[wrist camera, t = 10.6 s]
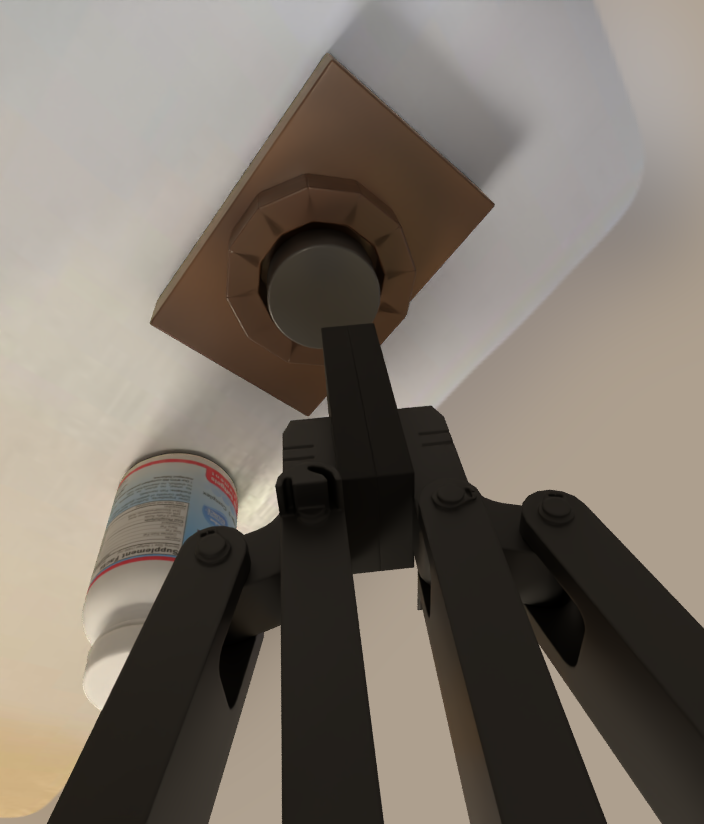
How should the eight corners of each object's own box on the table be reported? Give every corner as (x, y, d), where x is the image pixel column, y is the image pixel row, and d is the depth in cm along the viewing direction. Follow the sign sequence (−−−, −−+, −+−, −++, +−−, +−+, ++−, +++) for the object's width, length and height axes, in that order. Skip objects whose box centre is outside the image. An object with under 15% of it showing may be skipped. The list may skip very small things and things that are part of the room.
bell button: (310, 204, 22) (313, 220, 21) (395, 269, 24) (403, 288, 23) (246, 290, 24) (244, 311, 22) (330, 346, 26) (334, 368, 24)
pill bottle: (246, 527, 36) (240, 722, 26) (135, 541, 35) (88, 743, 26) (228, 440, 32) (212, 628, 23) (104, 454, 32) (37, 651, 22)
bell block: (327, 51, 23) (337, 64, 20) (480, 189, 26) (510, 220, 23) (156, 301, 28) (141, 345, 24) (305, 391, 31) (310, 441, 28)
